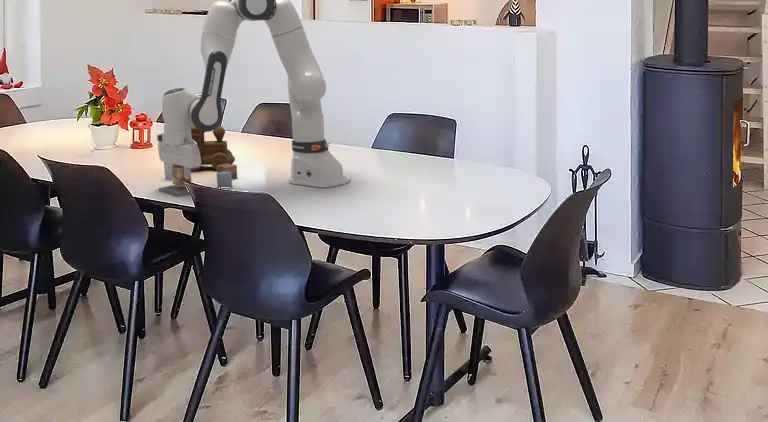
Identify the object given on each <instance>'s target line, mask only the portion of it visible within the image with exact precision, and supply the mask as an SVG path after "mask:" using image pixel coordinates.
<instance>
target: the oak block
mask: <svg viewBox="0 0 768 422" xmlns="http://www.w3.org/2000/svg"><path fill="white" fill-rule="evenodd" d="M171 170H172V180H171V181H172V185H178V186H182V185H185V184H184V182H183V180H186V181H188V182H191V183H192V171H190V178H189V179H184V178H183V174H184V171H185V170H184V166H180V165H178V166H172V167H171Z"/></svg>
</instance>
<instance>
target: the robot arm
mask: <svg viewBox="0 0 768 422" xmlns="http://www.w3.org/2000/svg"><path fill="white" fill-rule="evenodd" d="M207 11H208V12H207V13H206V17H205V20H204V24H203V27H202V32H201V37H200V53H201V56H202V60H203V63H204V70H205V71H204V79H203V83H202V89H201V94H200V95H197V94H195V93H193V92H192V91H188V90H187V89H186V88H184V87H177V88H173V89H168V90H166V91H165V93H164V94H163V96H162V100H161V104H162V105H161V109H162V119H163V121H164V126H163V132H161V133H159V134H157V135H156V141H157V142H158V144H157V150H158V158H159V160H160V161H161V163H162V162H163V163H164V162H167V163H170V167H172V166H178V165H180V166H184V170H185V171H184V174H183V178H184V179H189V178H190V171H191V168H198V167H200V166H201V167H202V165H201V157H200V152H199V148H198V146H197V143H196V142H195V141H194V140H192V136H191V125H194V126H195V127H196V128H197V129H199V130H201V131H204V132H205V133H208V132H209V133H210V132H213V131H214V130H215V129H217V128H218V127H219V126H221V124H222V122H223V118H224V115H223V108H222V104H221V99H222V93H223V87H224V81H225V75H226V72H227V68H228V65H229V62H230V60H231V59H230V58H231V56H232V53H233V51H234V47H235V43H236V40H237V39H236V38H237V33H238V29H239V28H240V25H241V24H242V23H243V22H244V21H250V22H256V21H263V22H264V23H265V24H266V25H267V27H268V29H269V32H270V35H271V39H272V40H273V43H274V46H275V49H276V51H277V53H278V57H279V60H280V61H281V64H282V65H283V68H284V70H285V72H286V75H287V77H288V78H287V89H288V90H287V91H288V99H289V106H290V107H289V108H290V113H291V114H290V115H291V122H292V123H291V125H292V140H291V150H292V152H293V153H292V154H293V155H292V158H291V167H290V178H289V180H288V183H289V184H293V185H299V186H307V187H315V188H321V189H322V188H323V189H324V188H332V187H333V188H334V187H336V186H337V187H338V186H341V185H345V184H347V183H350V182H351V178H350V177H347V176H344V170H343V169H344V168H343V166H342V163H341V162H340V161H339V160H338V159H337V158H336V157H335V156H334V155H333V154H332V153H331V152H330V151H329V147H331V145H330V144H331V142H328V143H327V140H326V138H325V121H324V119H325V118H324V114H323V113H324V112H323V109H322V103H321V99H322V98H324V96H325V94H326V91H327V82H326V81H325V78H324V76H323V73H322V71H321V68H320V65H319V63H318V62H317V59H316V57H315V55H314V53H313V50H312V48H311V46H310V43H309V40H308V36H307V34H306V32H305V29H304V27H303V24H302V21H301V18H300V16H299V14H298V12H297V10H296V8H295V6H294V5H293V2H292V1H290V0H228V1H226V0H218V1H215V2H213V3H212V4H211V5H210V7H209V9H208V10H207ZM201 167H200V168H201ZM191 172H192V171H191Z"/></svg>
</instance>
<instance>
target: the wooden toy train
mask: <svg viewBox="0 0 768 422" xmlns="http://www.w3.org/2000/svg"><path fill="white" fill-rule="evenodd" d="M205 133H206V132H204V131H201V130H199V129H197V128H196V127H195V126H194V125H191V136H192V140H194V141H195V143H196V144H197V146H198V148H199V152H200V157H201V166H200V167H198V168H191V173H193V172H198V171H199V170H200V169H201V167H202V166H209V165H210V166H211V167H212V168H213V169H214V170H216V171H217V165H222V164H227V163H229V164H233V165H234V163H235V162H236V157H235V156H234V155H233V153H232V151H231V150H230V149H229V148H228V140H223V139H224V137H225V134H226V130H225V129H224V128H223V126H222V125H220V126H219V127H218V128H217V129H215V130H213V131H212V133H213V134H212V135H214V137H215V140H205Z"/></svg>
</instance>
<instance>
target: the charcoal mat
mask: <svg viewBox="0 0 768 422" xmlns="http://www.w3.org/2000/svg"><path fill="white" fill-rule="evenodd" d="M158 192H161V193H165V194H168V195H171V196H176V197H183V196H188V195H190V194H189V192H188V190H187V188H186V186H185V185H182V186H178V185H175V184H172V185H168V186H163V187H159V188H158Z"/></svg>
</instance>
